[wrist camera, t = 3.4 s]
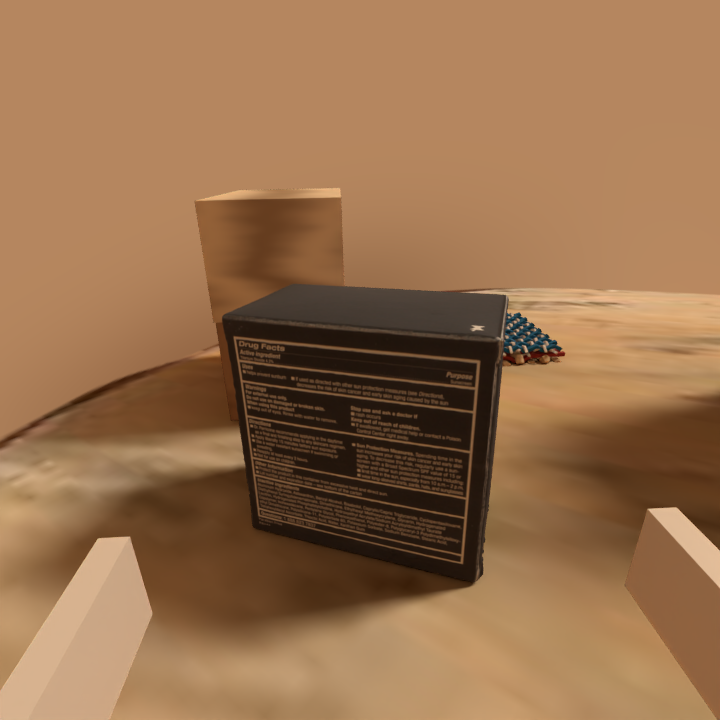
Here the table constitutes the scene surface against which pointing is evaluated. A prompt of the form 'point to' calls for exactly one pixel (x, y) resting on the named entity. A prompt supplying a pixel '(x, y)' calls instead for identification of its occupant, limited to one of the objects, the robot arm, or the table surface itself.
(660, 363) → the table surface
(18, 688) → the robot arm
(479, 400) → the small box
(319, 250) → the tower top
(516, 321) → the woven mat
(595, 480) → the table surface
